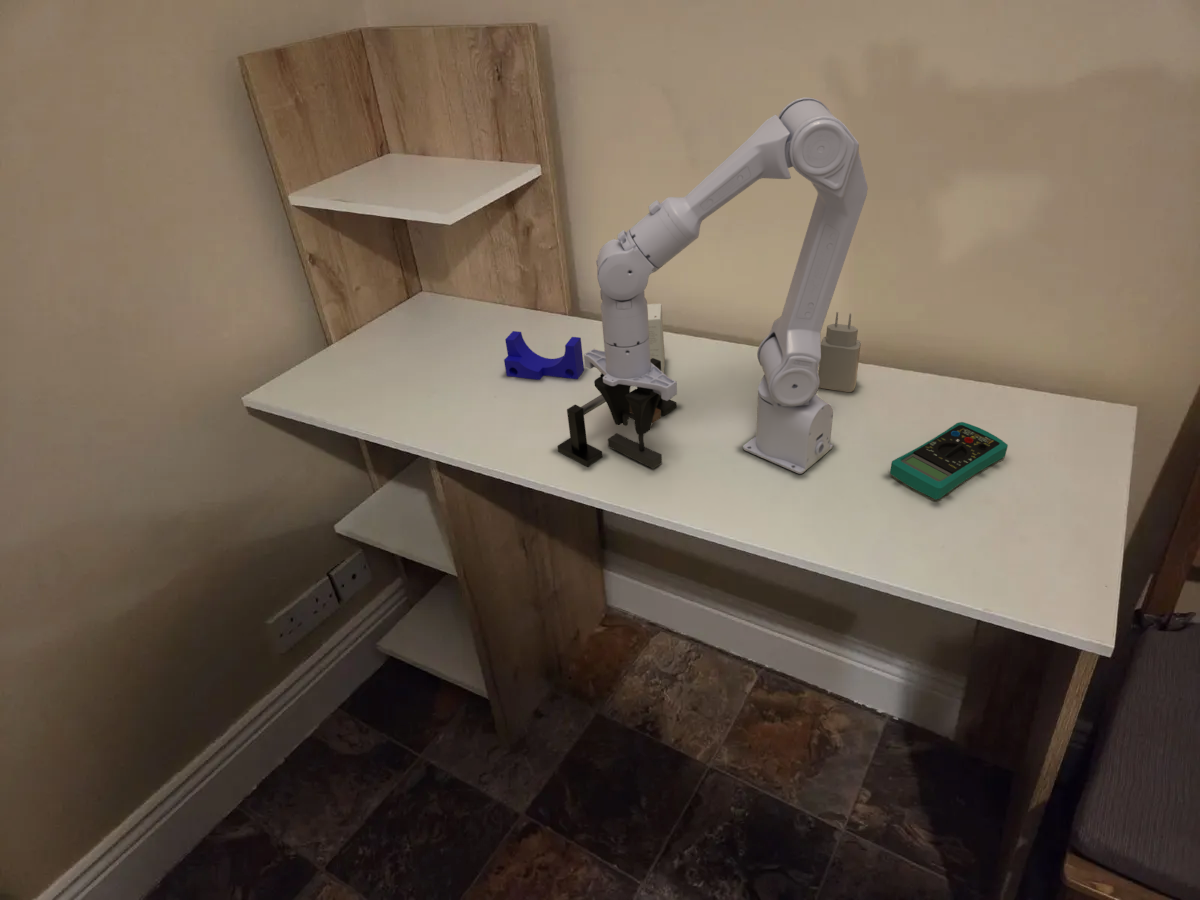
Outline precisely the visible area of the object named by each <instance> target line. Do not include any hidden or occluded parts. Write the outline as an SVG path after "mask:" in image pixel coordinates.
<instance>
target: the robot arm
mask: <svg viewBox="0 0 1200 900" xmlns="http://www.w3.org/2000/svg"><path fill="white" fill-rule="evenodd" d="M861 159H862V158H861V155H860V142H859V141H858V140H857V138H856V137H855V136H854V135H853V133H852V132H851V130H850V129H849V128H848V127H847V126H846V125H845V124H844V122H843V121H841V120H840V118H838V117H836V116H835V115H834V114H833V113H832V111H830V109H829V108H828V107H827V106H826V104H824V103H823V102H822V101H821V100H819V99H817V98H813V97H801V98H797V99H794V100H793V101H791V102H789V103H788V104H786V105H785V106H784V107H783V108H782V110H781V111H780V112H779V113H778V115H777V114H774V115H772V116H771V117H769V118H768V119H766V120H765V121H764V122H763V123H762V124H761V125H760V126H759V127H758V128H757V129H756V130H755V131H754V132H753V133H752V134H751V136H749V137H748V138H747V139H746V140H745V141H744V142H743V143H742V144H741V145H740V146H739V147H738V148H736V149H735V150H734V151H733V152H732V153H731V154H730V155H728V157H727V158H725V159H724V160H723V161H722V162H721V163H720V164H719V165H718V166H717V167H715V168H714V170H712V171H711V172H710V173H709V174H708V175H707V176H706V177H705V178H703V180H701V182H699V183H698V184H697V185H696V186H695V187H693V189H691V190H690V191H689V192H688V193H687V194H686V195H685V196H668V197H666V198H665V199H664V200H663V201H662V202H660V201H659V200H657V199H655V200H654V201H653V202H652V203H651V204H650V205H648V213H647V214H646V215H645V216H643V217H642V218H641V219H640V220H638V222H636V223H635V224H634V225H632V227H631V228H629V229H628V230H627V231H626V230H624V229H622V230H621V231H620V232H618V233H617V235H616V236H617V239H615V238H613V239H610V240H608V241H607V242H606V243H604V244H603V245H602V246H601V248H600V249H599V252H598V255H597V259H596V260H595V263H596V268H597V269H596V270H597V273H596V275H597V282H598V286H599V288H600V291H599V293H600V300H601V303H600V314H601V325H602V336H603V337H602V338H603V347H604V351H603V350H599V349H596V348H593V349H591V350H588V351H587V352H586V353H584V354H583V362H584V367H585V368H588V369H593V368H595V369H597V370H598V371H599V372H600V376H599V377H597V378H595V380H594V382H593V384H594V386H595V388H596V389H597V390H598V392H599V393H600V395H601V394H602V396H603V397H604V399H605V401H606V402H605V403H606V404H607V405H606V406H607V407H608V409H609V412H610V414H611V417H612V419H613V422H614V425H616V426H621V425H623V421H622V411H624V410H625V411H628V412H630V406H631V409H632V412H633V416H634V420H633V424H634V429H635V434H636V435H637V436H638V435H639V436H642V435H644V436H645V434H647V433H648V432H650V431H651V428H652V425H653V423H652V420H653V416H654V413H655V410H656V407H657V405H658V403H659V401H660V399H661V398H662V399H663V400H666V401H668V400H669V399H670V400H672V399H673V398H674V397H675V396H678V382H677V381H676V380H674V379H672V378H671V377H668V375H667V374H665V372H664V373H663V372H662V371H660V370H659V369H658V368H657V367H656V366H655V365H653V364H652V363H651V362H650V343H649V326H648V306H647V304H648V300H647V299H646V296H645V295H646V294H645V290H646V289H647V286H648V283H649V277H650V275H652V274H653V273H656V272H658V271H659V270H660V268H662V267H663V266H665V265H666V264H667V263H668V262H670V261H671V260H673V258H675V257H676V256H677V255H678V254H680V253H681V252H682V251H684V250H685V249H686V248H687V247H688V246H690V245H691V244H692V243H693V242H695V241H696V240H697V239H698V238H699V237H700V231H701V225H702V222H703V221H704V220H705V219H707V218H708V217H710V216H711V215H712V214H714V213H715V212H716V211H718V210H719V209H721V208H722V207H723V206H725V205H726V204H727V203H729V202H730V201H732V200H733V199H734V198H736V197H737V196H738V195H740V194H741V193H743V192H744V191H745V190H746V189H748V188H749V187H751V186H752V185H753V184H755V183H756V182H757V181H759V180H762V179H771V180H790V179H791V178H792V176H791V174H790V170H789V168H794V170H795V171H796V172H797V173H798V174H799V175H800V176H801V177H803V178H805V179H806V180H808V181H809V182H810V183H811V185H812V186H813V187H814V189H815V190H816V192H817V196H816V199H815V203H814V205H813V209H812V212H811V215H810V219H809V223H808V227H807V229H806V232H805V236H804V239H803V242H802V245H801V248H800V252H799V256H798V259H797V262H796V266H795V269H794V272H793V275H792V278H791V281H790V285H789V289H788V291H787V296H786V298H785V301H784V306H783V308H782V312H781V315H780V317H778V318H776V319H775V320H774V321H773V322H772V324H771V325H772V326H771V329H770V331H769V333H768V334H767V336H765V337H764V338H763V340H762V341H761V342H760V343H759V346H758V348H757V353H756V354H757V355H756V356H757V361H758V363H759V366H760V367H761V369H762V372H763V375H762V378H761V380H760V382H759V384H758V386H757V405H756V433H755V435H754V437H752V438H751V439H750V440H748V441H747V442H746V443H744V444H743V445H742V450H744V451H745V452H747V453H749V454H752V455H755V456H757V457H758V458H761V459H764V460H766V461H768V462H770V463H773V464H775V465H778V466H780V467H783V468H784V469H787V470H789V471H791V472H794V473H796V474H799V475H802V474H804V473H805V472H806V471H807V470H808V469H810V468H811V467H812V466H813V465H814V464H816V463H817V462H818V461H819V460H820V459H822V458H823V457H824V456H825V455H826V454H827V453H828V452H829V451H831V450H832V449H833V443H831V438H832V429H833V419H834V409H833V406H832V404H830V403H828V402H826V401H825V400H824V399H822V398H820V396H818V395H817V392H818V390H819V388H820V387H819V383H820V381H819V375H818V371H819V362H820V359H821V342H822V340H821V332H822V329H823V327H824V323H825V319H826V317H827V315H828V311H829V309H830V305H831V302H832V300H833V297H834V294H835V292H836V288H837V285H838V282H839V279H840V276H841V273H842V271H843V267H844V264H845V261H846V258H847V255H848V252H849V250H850V246H851V244H852V240H853V237H854V234H855V231H856V228H857V225H858V222H859V220H860V217H861V213H862V211H863V208H864V204H865V201H866V199H867V195H868V189H869V187H868V183H867V179H866V175H865V171H864V167H863V163H862V160H861ZM630 386H631V387H635V388H634V389H633V390H631V387H630ZM627 418H628V417H627ZM628 420H630V418H628Z"/></svg>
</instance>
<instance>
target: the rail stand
mask: <svg viewBox="0 0 1200 900" xmlns="http://www.w3.org/2000/svg"><path fill="white" fill-rule="evenodd" d="M650 362H651V363H652V364H653V365H655V366H656V367H657V368H658V369H659V370H660V371H661V361H659V360H657V359H654V358H652V359H650ZM631 387H632V386H630V388H631ZM604 403H606V401H605V399H604V397H603V396H602V394H601V393H600V394H599V395H598V396H597V397H595V398H593V399H591V400H590V401H588V402H587V403H585V404H583V405H582V406H579V405H577V404H573V405H572V406H570V407H567V409H566V414H567V422H568V430H569V438H567V439H565V440H564V441H562V442H561V443H559V444H558V445H557V452H558V453H560V454H562V455H564V456H566V457H568V458H570V459H572V460H573V461H576V462H577V463H579V464H581V465H583V466H585V467H587V468H588V467H590V466H592V465H593V464H594V463H597V461H599V460H601V459H602V458H603V456H604V455H603V451H602V450H600V449H598V448H596V447H595V446H593V445H591V444H589V443H588V440H587V431H586V422H585V416H586V415H587V414H589V413H591V412H592V411H593V410H595V409H596V408H598V407H600V406H601V405H603V404H604ZM656 408H657V409H659V410H661V416H663V417H665V416H666V415H668V414H669V413H671V412H672V411H673V410H675V409H677V408H678V403H677V401H675V400H673V399H669V400H668V401H666V400H663V399H662V398H661V399H660V401H659V403H658V405H657V407H656Z"/></svg>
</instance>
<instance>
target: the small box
mask: <svg viewBox="0 0 1200 900" xmlns="http://www.w3.org/2000/svg"><path fill="white" fill-rule="evenodd" d="M647 306H648V326H649V343H650V359H652V358H654V359H657V360H659V361H661V371H662V372H663V373H664V374H665V361H666V359H665V358H666V356H665V340H664V337H665V336H664V322H663V321H664V320H663V304H662V303H647Z"/></svg>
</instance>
